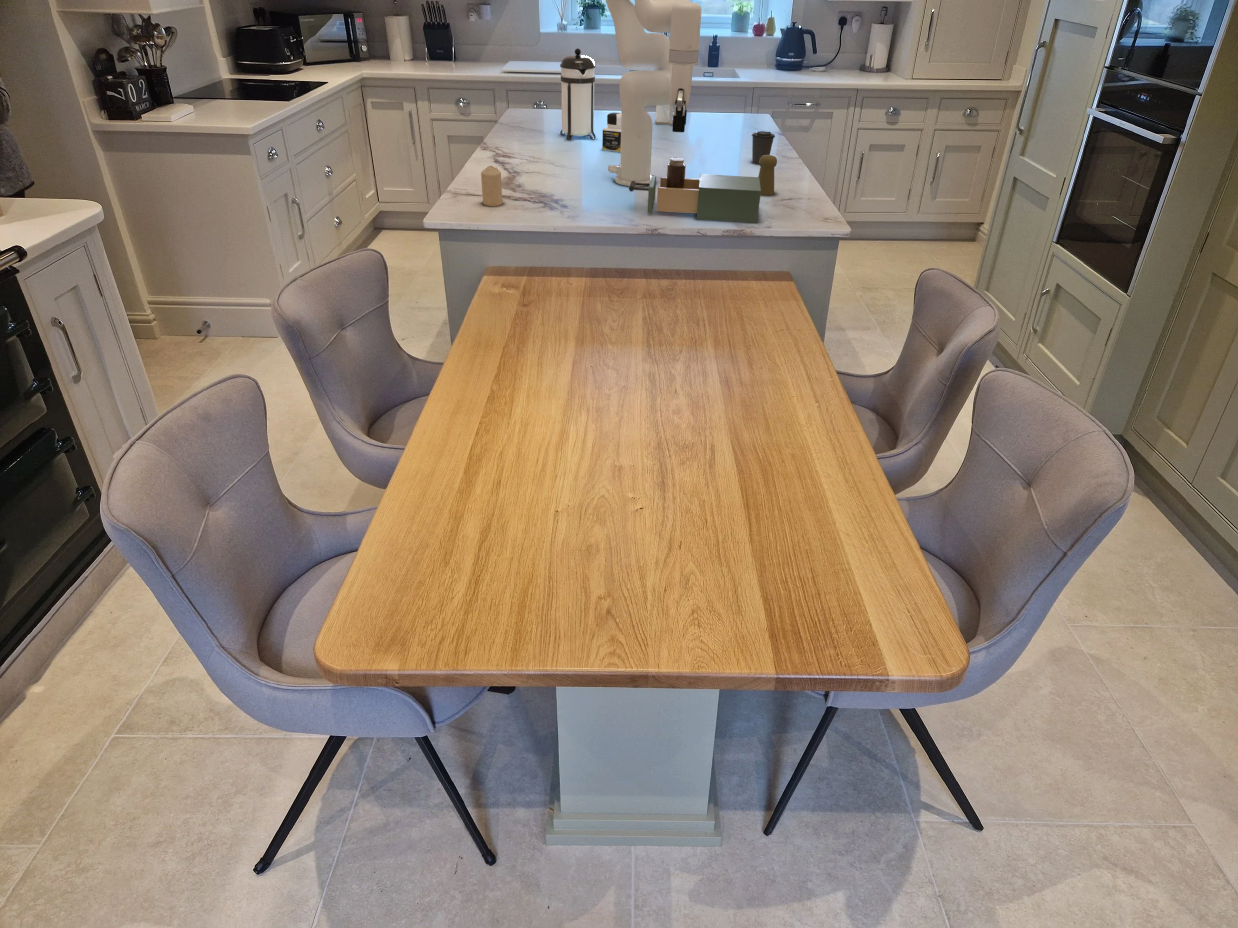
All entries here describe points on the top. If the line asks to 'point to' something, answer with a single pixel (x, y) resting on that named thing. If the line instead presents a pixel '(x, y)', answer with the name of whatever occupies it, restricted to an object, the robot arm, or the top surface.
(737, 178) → the cabinet
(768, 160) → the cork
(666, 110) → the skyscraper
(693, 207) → the drawer
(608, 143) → the medicine bottle
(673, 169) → the pepper mill
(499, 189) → the candle
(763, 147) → the coffee cup
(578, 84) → the coffee press
